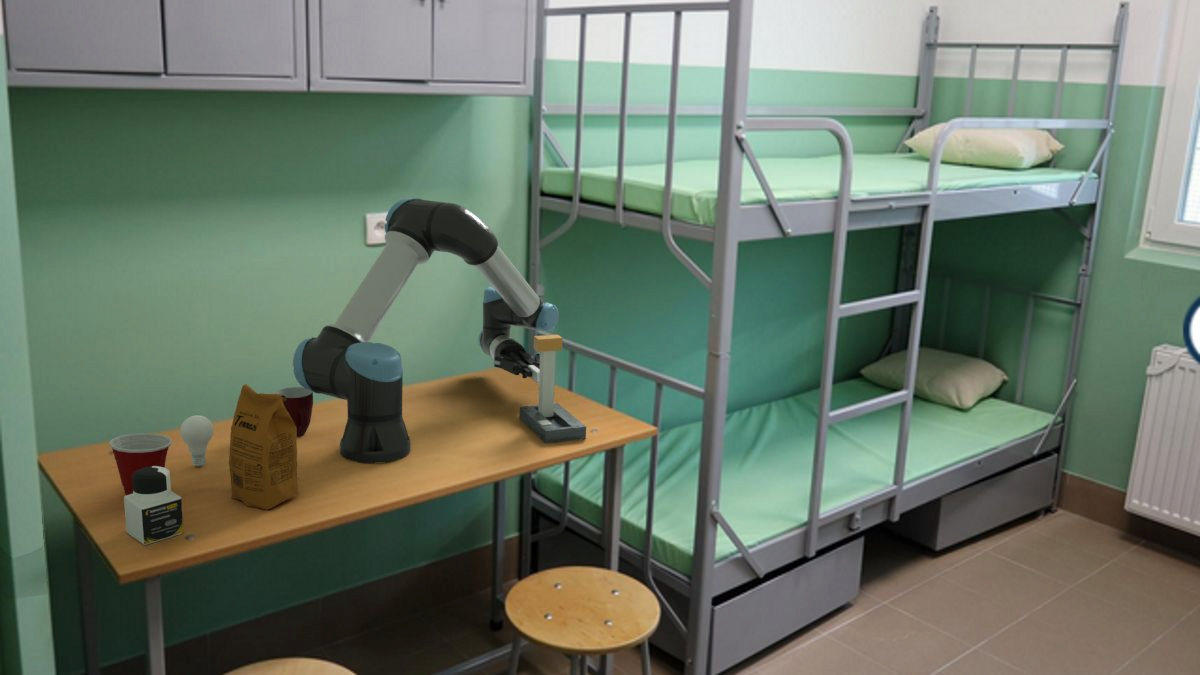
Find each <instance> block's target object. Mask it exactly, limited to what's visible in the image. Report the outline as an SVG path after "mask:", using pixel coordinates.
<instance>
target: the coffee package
mask: <svg viewBox="0 0 1200 675" xmlns="http://www.w3.org/2000/svg"><path fill="white" fill-rule="evenodd" d="M283 401H286V397H285V395H282V394H276V393H261V392H259V393H258V392H257V391H255V390H254V389H253V388H252V387H251V386H250V385H248V384H247V383H246V384H242V387H241V390H240V394H239V396H238V399H237V401H236V402H237V404H236V408H235V411H234V414H233V419H232V424H231V427H230V436H229V437H230V440H229V442H230V443H229V452H228V453H229V455H228V467H229V473H230V474H229V476H230V493H231V496H230V497H231V499H234V500H241V501H242V502H243V503H244V504H245V505H246V506H248V507H250V508H257V509H264V510H271V509H273V508H274V507H277V506H278V505H280V504H281V503H283V502H284V501H288V500H291V499H293V498H295V497H296V496H297V495H299V485H298V484H299V483H298V480H299V478H298V466H299V465H298V443H297V428H296V426H295V424H294V422H293V420H292V418H291V417H290V415H289V413H288V412H287V410H286V408H285V406H284V404H283Z"/></svg>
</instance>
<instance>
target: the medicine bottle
mask: <svg viewBox="0 0 1200 675" xmlns="http://www.w3.org/2000/svg"><path fill="white" fill-rule="evenodd" d="M170 472H171V471H170V470H169V469H168V468H166V467H165V468H164V467H159V466H150V467H145V468H142V469H139V470H137V471H135V472H134V473H133V475H132V483H133V494H130V495H124V496H123V503H124V504H123V505H124V516H125V528H126V533H127V534H128V535H130V536H131V538H134V539H135V540H137V541H138V542H139V543H141V544H142V545H144V546H148V545H151V544H153V543H157V542H160V541H163V540H167V539H171V538H173V537H177V536H180V535H182V534H183V533H184V519H183V517H184V516H183V506H182V505H183V504H182V496H180V495H179V494H176V493H175V492H173V490H172V488H171V473H170Z"/></svg>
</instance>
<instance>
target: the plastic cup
mask: <svg viewBox="0 0 1200 675" xmlns="http://www.w3.org/2000/svg"><path fill="white" fill-rule="evenodd" d="M172 442H173V439H172V438H171V437H170V436H166V435H164V434H160V433H159V434H158V433H151V432H150V433H148V432H147V433H145V432H141V433H140V432H138V433H128V434H123V435H119V436H116V437H114V438H112V439H110V441H109V442H108V445H109V446H110V448H111V450H112V454H113V456H114V459H115V463H116V466H117V469H118V470H117V471H118V474H119V477H120V482H121V485H122V487H123V490H124V491H123V492H124V494H125V495H124V496H126V495H130V494H133V483H132V475H133V473H134V472H135V471H137V470H139V469H142V468H145V467H150V466H159V467H164V468H166V462H167V460H166V459H167V455H168V451H169V448H170V447H171V445H172Z"/></svg>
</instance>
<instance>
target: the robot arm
mask: <svg viewBox="0 0 1200 675" xmlns="http://www.w3.org/2000/svg"><path fill="white" fill-rule="evenodd" d="M385 221H386V223H385V224H384V232H385V234H384V241H385V244H386V245H385V246H384V248H383V249H382V251H381V253H380V254H379V256H378V257H377V258H376V260H375V261H374V263H373V264H372V266H371V268H370V269H369V271H368V272H367V273H366V275H365V277H364V278H363V280H362V281H361V283H360V284H359V285H358V287H357V289H356V290H355V292H354V293H353V294H352V296H351V298H350V299H349V301H348V303H347V304H346V305H345V306H344V309H343V310H342V311H341V313H340V315H339V316H338V318H337V319H336V321H335V322H334V323H331V324H326V325H325V326H323V328H322V329H321V330H320V333H319V334H318V335H317V337H309V338H305V339H304V340H302V341H301V342H300V343H299V344H298V346H297V347H296V349H295V351H294V355H293V359H292V367H293V375H294V378H295V380H296V381H297V383H298V385H300V386H301V387H302V388H306V389H309V390H311V391H313V393H314V394H322V395H325V396H330V397H333V398H337V399H340V400H345V401H346V403H347V419H346V423H345V426H344V430H343V431H344V432H343V436H342V437H341V439H340V442H339V455H341V457H342V458H344V459H345V460H348V461H351V462H355V463H360V464H383V463H389V462H394V461H398V460H401V459H404V458H405V457H407V456H408V455H409V454H410V453H411V444H412V443H411V438H410V436H409V433H408V429H407V426H406V423H405V421H404V418H403V384H404V383H403V379H404V378H403V377H404V376H403V373H404V368H403V364H402V362H403V361H402V356H401V353H400V352H399V351H398V350H397V349H396V348H394V346H393V347H392V346H390V345H388V344H385V343H380V342H375V343H374V342H371V341H370V340H371V339H372V337H373V336H374V334H375V332H376V331H377V330H378V328H379V327H380V325H381V323H382V322H383V320H384V318H385V317H386V315H387V314H388V313H389V310H390V309H391V308H392V306H393V305H394V303H395V301H396V300H397V298H398V296H399V295H400V294H401V292H402V290H403V288H404V287H405V285H406V283H407V282H408V280H409V279H410V278H411V276H412V274H413V273H414V271H415V270H416V268H417V266H418V265H423V264H427V263H428V261H429V260H430V259H431V256H433V254H434V252H435V251H436V252H441V253H443V252H444V253H450V254H451V255H455V256H457V257H459V258H461V259H462V260H463V261H464V262H465V263H466V264H467V265H469V266H473V267H475V269H476V270H477V271H478V272H479V273H480V275H481V276H482V277H483V278H484V279H485V280H486V282H488V284H489V285H490V286H487V287H486V288H485V289H484V291H483V300H482V330H481V331H480V333H479V335H478V338H477V341H478V346H479V347H480V349H481V350H482V352H483V353H484V354H486V355H487V356H489V357H490V358H492V360H493V361H494V362H493V364H494V365H493V366H494V368H498V369H502V370H504V371H506V372H508V373H510V374H512V375H515V376H519V375H521V376H522V379H527V378H530V380H533V382H535V383H536V384H539V373H540V353H536V354H533V355H531V353H529V352H527V350H526V349H525V347H524V346H523V345H522V344H521V343H519V342H518V341H517V340H516V339H515V338H512V337H511V327H512V326H514V327H521V328H524V329H529V330H535V331H538V332H548V333H549V332H551V331H553V330H554V329H555V328H556V325H557V324H558V322H559V317H560V316H559V314H560V313H559V309H558V307H557V306H556V305H555V304H552V303H549V302H548V301H546V302H544V301H543V300H542V299H541V298H540V297H539V295H538V294H537V293H536V291H535V290H534V289H533V288H532V287H531V285H530V284H529V283H528V281H527V280H526V279H525V278H524V276H523V275H522V273H520V272H519V270H518V268H516V266H515V265H514V264H513V263H512V261H511V260H510V259H509V257H508V256H507V255H506V254H505V253H504V251H503V249H501V248H500V246H499V239H498V237H497V236H496V234H495V233H494V231H492V229H491V228H490V227H489V226H488V225H487V224H486V223H485V221H483V220H482V219H481V218H480V217H478V216H477V215H476V213H475V214H474V213H473V212H472V211H471V210H469V209H468V208H466V207H465V206H463V205H460V204H458V203H454V202H443V201H435V200H427V199H424V198H419V197H415V198H414V197H413V198H403V199H399V200H398V201H396V202H395V203H394V204H393V205H392V206H391V207H390V208H389V210H388V212H387V214H386V217H385Z"/></svg>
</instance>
